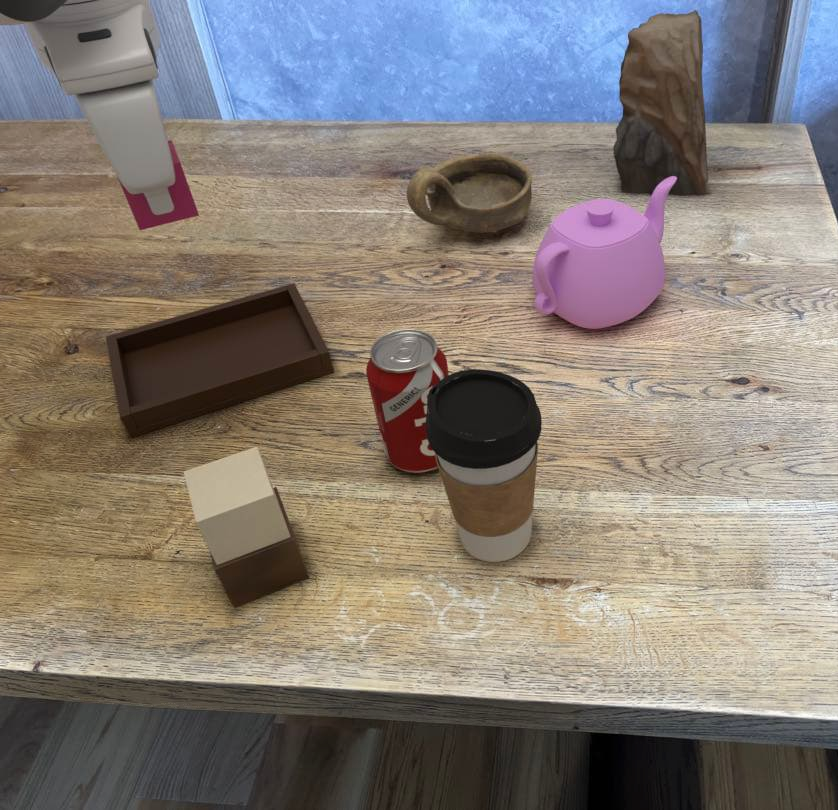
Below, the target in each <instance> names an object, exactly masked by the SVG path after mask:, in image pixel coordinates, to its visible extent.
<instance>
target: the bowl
mask: <svg viewBox="0 0 838 810" xmlns="http://www.w3.org/2000/svg"><path fill="white" fill-rule="evenodd" d="M532 182H533V175H532V173H531V170H530V169H529V168H528V167H527V166H526V165H525V164H523V163H522V162H521V161H519V160H517V159H515V158H514V157H512V156H509V155H506V154H503V153H496V152H495V153H494V152H485V153H484V152H483V153H479V154H467V155H457V156H455V157H452V158H449V159H447V160H445V161H442V162H441V163H438V165H436V166H435V167H434V168H432V169H431V168H428V167H425V168H422V169H419V170H418V171H416V172H415V173H414V174H413V175H412V177H411V178H410V180H409V181H408V185H407V188H406V200H407V203H408V205H409V207H410V209H411V211H412V212H413V213H414V214H415V215H416V216H417V217H418V218H420V219H421V220H423V221H425V222H427V223H429V224H431V225H432V224H433V225H435V226H440V227H441V226H442V227H445V228H447V229H453V230H458V231H463V232H468V233H477V234H479V233H482V234H483V233H491V232H492V233H496V232H497V231H499V230H502V229H506V228H509V227H511V226H513V225H514V226H515V225H516V224H519V223H520V222H522V221H523V220H524V219H525V217H526V215H527V213H528V212H529V209H530V206H531V202H532V197H533V192H532V191H533V190H532ZM426 197H427V199H428V204H429V206H428V204H427V199H426Z"/></svg>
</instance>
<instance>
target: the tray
mask: <svg viewBox="0 0 838 810" xmlns="http://www.w3.org/2000/svg"><path fill="white" fill-rule="evenodd" d="M298 289H299V288H298V287H297V285H296V283H294V282H293V283H290V284H286V285H282V286H279V287H275V288H272V289H268V290H264V291H261V292H257V293H254V294H250V295H247V296H244V297H240V298H236V299H233V300H229V301H225V302H222V303H218V304H215V305H211V306H208V307H205V308H201V309H198V310H193V311H191V312H187V313H183V314H180V315H176V316H173V317H170V318H166V319H162V320H159V321H158V320H157V321H155V322H152V323H148V324H144V325H140V326H138V327H134V328H131V329H127V330H123V331H120V332H116V333H113V334H109V335H106V336H105V340H106V341H105V342H106V347H107V353H108V359H109V363H110V369H111V375H112V376H111V377H112V380H113V387H114V393H115V400H116V404H117V410H118V417H119V418H120V421H121V423H122V424H123V426H124V429H125V430H126V432H127V434H128V436H129V437H130V438H131V439H132V438H135V437H138V436H141V435H145V434H147V433H151V432H154V431H157V430H160V429H163V428H166V427H169V426H172V425H176V424H179V423H181V422H184V421H188V420H191V419H195V418H197V417H200V416H204V415H206V414H210V413H212V412H215V411H218V410H222V409H224V408H225V409H226V408H228V407H231V406H234V405H238V404H241V403H243V402H246V401H251V400H253V399H256V398H259V397H262V396H266V395H269V394H271V393H274V392H278V391H281V390H284V389H287V388H290V387H293V386H297V385H300V384H302V383H306V382H309V381H312V380H314V379H318V378H321V377H324V376H327V375H330V374H333V373H335V369H334V366H333V361H332V357H331V354H330V351H329V349H328V347H327V345H326V343H325V341H324V339H323V336H322V335H321V333H320V331H319V329H318V327H317V325H316V323H315V321H314V319H313V317H312V315H311V313H310V311H309V309H308V308H307V305H306V303H305V301H304V299H303V297H302V295H301V293H300V291H299V290H298Z"/></svg>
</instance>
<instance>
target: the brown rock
mask: <svg viewBox="0 0 838 810" xmlns="http://www.w3.org/2000/svg"><path fill="white" fill-rule="evenodd" d="M702 22H703V21H702V17H701V16H700V15H699V11H698V10H696V9H695V10H692V11H690V12H689V13H677V14H674V13H668V12H667V13H662V12H660V13H657V14H654V15H651V16H650V17H648V20H647V21H646V22H642V23H640V24H639V26H638V27H633V28H632V29H631V30H629V31H628V33H627V40H628V44H627V46H626V50H625V51H624V55H623V60H622V62H621V65H620V76H619V82H618V87H619V91H618V92H619V93H618V95H619V102H620V103H621V106H622V117H621V119H620V121H619V122H618V125H617V127H616V128H615V134H616V140H615V142H614V145H613V148H612V149H613V158H614V159H615V166H616V170H617V174H618V176H619V179H620V183H621V188H620V190H621V192H624V193H628V194H644V193H645V194H647V193H648V194H650V195H652V194H653V192H654V190H655V188H656V187H657V186H658V185H659V184H660V183H661V182H662V181H663V180H665V179H666V178H668V177H671V176H676V177H677V180H676V182H675V184H674V185H673V186H672V188H671V189H670V191H669V193H668V195H669V194H671V195H674V196H675V195H676V196H689V195H697V196H698V195H703V196H704V195H707V189H706V186H707V183H708V181H709V169H708V157H707V156H708V152H707V129H706V109H705V98H704V89H703V65H704V63H703V61H704V60H703V54H704V44H703V27H702V26H703V25H702Z"/></svg>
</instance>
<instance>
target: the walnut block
mask: <svg viewBox="0 0 838 810" xmlns="http://www.w3.org/2000/svg"><path fill="white" fill-rule="evenodd" d="M273 488H274V491H275V494H276V497H277V500H278V503H279V505H280V508H281V511H282V514H283V517H284V520H285V523H286V525H287V528H288V531H289V534H290V538H287V539H285V540H282V541H280V542H277V543H274V544H272V545H269V546H266V547H264V548H261V549H259V550H256V551H253V552H251V553H248V554H245V555H243V556H240V557H238V558H235V559H232V560H230V561H227V562H224V563H222V564H219V565H217V564H216V562H215V560H214V558H213V556H212V554H211V552H210V551H209V554H210V558H211V562H212V566H213V569H214V571H215V574H216V576H217V578H218V580H219V582H220V584H221V586H222V587H223V590H224V592H225V594H226V596H227V597H228V600H229V601H230V603H231V606H232V609H233V608H234V609H235V608H237V607H241V606H242V605H246V604H247V603H250V602H252V601H255V600H258V599H260V598H262V597H266V596H268V595H270V594H272V593H275V592H278V591H280V590H282V589H283V590H284V589H285V588H287V587H290V586H293V585H295V584H297V583H300V582H302V581H305V580H307V579H310V575H309V572H308V569H307V566H306V564H305V560H304V558H303V555H302V552H301V550H300V547H299V543H298V541H297V539H296V535H295V532H294V530H293V527H292V525H291V522H290V519H289V516H288V514H287V511H286V509H285V506H284V503H283V501H282V498H281V494H280V492H279V490H278V487H277V486H274V487H273Z"/></svg>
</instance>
